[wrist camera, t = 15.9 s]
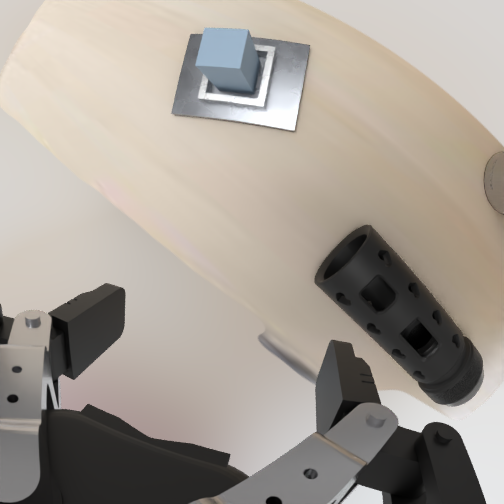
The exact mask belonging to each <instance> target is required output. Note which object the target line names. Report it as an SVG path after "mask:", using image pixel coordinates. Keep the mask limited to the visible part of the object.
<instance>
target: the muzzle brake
mask: <svg viewBox="0 0 504 504" xmlns="http://www.w3.org/2000/svg"><path fill="white" fill-rule="evenodd" d="M315 284H316V285H317V286H318V287H319V288H321V289H322V290H323V291H324V292H325V293H326V294H327V295H328V296H329V297H330V298H331V299H332V300H333V301H334V302H335V303H336V304H337V305H338V306H339V307H340V308H342V309H343V310H344V311H345V312H346V313H347V314H348V315H349V316H350V317H351V318H352V319H353V320H354V321H355V322H356V323H357V324H358V325H359V326H360V327H361V328H362V329H363V330H364V331H365V332H367V333H368V334H369V335H370V336H371V337H372V338H373V339H374V340H375V341H376V342H377V343H378V344H379V345H380V346H381V347H382V348H383V349H384V350H385V351H386V352H387V353H388V354H389V355H390V356H391V357H392V358H393V359H394V360H395V361H396V362H397V363H398V364H399V365H400V366H401V367H402V368H403V369H404V370H405V371H406V372H407V373H409V374H410V375H411V376H412V377H413V378H414V379H415V380H416V381H418V384H419V386H420V388H421V389H422V390H423V391H424V392H425V393H426V394H427V395H428V396H429V397H430V398H431V399H432V400H433V401H434V402H436V403H438V404H442V405H447V406H459V405H462V404H464V403H466V402H468V401H469V400H470V399H472V398H473V397H474V396H475V394H476V393H477V392H478V390H479V389H480V387H481V384H482V382H483V377H484V370H483V360H482V357H481V355H480V353H479V352H478V350H477V349H476V348H475V346H474V345H473V343H472V342H471V341H470V340H469V339H468V338H467V337H464V336H463V334H462V332H461V331H460V329H459V328H458V327H457V326H456V324H455V323H454V322H453V321H452V319H451V318H450V316H449V315H448V314H447V313H446V311H445V310H444V309H443V308H442V306H441V305H440V304H439V303H438V302H437V301H436V299H435V298H434V297H433V296H432V294H431V293H430V292H429V291H428V289H427V288H426V287H425V286H424V285H423V283H422V282H421V281H420V280H419V279H418V278H417V277H416V275H415V274H414V273H413V272H412V271H411V270H410V268H409V267H408V266H407V265H406V264H405V263H404V261H403V260H402V259H401V258H400V257H399V256H398V255H397V254H396V252H395V251H394V250H393V249H392V248H391V247H390V246H389V245H388V244H387V243H386V242H385V241H384V240H383V239H382V237H381V236H380V235H379V234H378V233H377V232H376V231H375V230H374V229H373V228H372V227H371V226H370V225H365V226H362V227H360V228H358V229H356V230H355V231H353V232H352V233H351V234H349V235H348V236H347V237H346V238H345V239H344V240H343V241H342V242H341V243H340V244H339V245H338V246H337V247H336V248H335V249H334V250H333V251H332V252H331V253H330V254H329V255H328V257H327V258H326V259H325V260H324V262H323V263H322V265H321V266H320V268H319V269H318V271H317V273H316V276H315Z"/></svg>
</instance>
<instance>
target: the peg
mask: <svg viewBox="0 0 504 504" xmlns="http://www.w3.org/2000/svg"><path fill="white" fill-rule="evenodd" d="M260 64H261V63H260V60H259V57H258V54H257V52H256V49H255V46H254V43H253V41H252V38H251V35H250V33H249V30H245V29H228V28H205V29H204V32H203V36H202V40H201V44H200V48H199V52H198V56H197V60H196V64H195V66H196V67H197V68H198V69H199V70H200V71H201V72H202V73H203V74H204V75H205V76H206V77H207V78H208V79H209V80H210V81H211V82H212V83H213V85H214V86H215V87H216V88H217V89H218V90H219V91H226V92H236V93H245V94H253V95H254V94H255V89H256V84H257V79H258V74H259V69H260Z"/></svg>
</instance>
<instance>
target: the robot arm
mask: <svg viewBox="0 0 504 504" xmlns="http://www.w3.org/2000/svg"><path fill="white" fill-rule="evenodd" d="M484 184H485V191H486V195H487V197H488V200H489V202H490V203H491V205H492V206H493V208H494V209H495V210H497V211H498V212H499V213H502V214H504V152H499V153H497V154H495V155H494V156H493V157H491V159H490V160H489V162H488V164H487V166H486V170H485V176H484ZM124 321H125V290H124V289H123V288H121V287H118V286H115V285H111V284H108V283H105V284H104V285H102V286H100V287H98V288H97V289H95V290H93V291H90V292H86V293H82V294H80V295H78V296H77V297H75V298H74V299H71V300H70V301H68V302H67V303H65V304H63V305H61V306H59V307H58V308H56V309H55V310H53V311H51V312H49V313H48V314H47V313H45V312H43V311H39V310H29V311H24V312H22V313H20V314H18V315H17V316H16V317H15V319H14V318H10V317H6V316H3V314H2V307H1V304H0V504H341V503H342V502H343V501H344V500H345V499H346V498H347V497H348V496H349V495H350V494H351V493H352V492H353V491H354V489H355V488H356V487H357V486H358V485H362V486H365V487H369V488H372V489H376V490H379V491H382V495H383V504H486V501H485V498H484V495H483V492H482V490H481V487H480V484H479V481H478V478H477V476H476V473H475V470H474V468H473V465H472V463H471V460H470V458H469V455H468V453H467V450H466V448H465V446H464V443H463V440H462V438H461V436H460V434H459V433H458V432H457V431H456V430H455V429H454V428H453V427H451V426H449V425H447V424H444V423H440V422H433V423H429V424H427V425H426V426H425V427H424V429H423V430H422V432H421V433H419V432H416V431H412V430H409V429H406V428H403V427H400V426H398V418H397V416H396V415H395V414H394V413H393V412H392V411H391V410H390V409H389V408H387V407H385V406H383V405H381V402H380V398H379V395H378V392H377V388H376V385H375V384H374V383H375V382H374V379H373V377H372V373H371V370H370V367H369V366H368V364H367V363H366V362H365V361H364V360H363V359H362V358H357V357H355V355H354V351H353V347H352V344H351V343H347V342H341V341H336V340H331V341H330V343H329V346H328V348H327V351H326V354H325V357H324V360H323V363H322V366H321V369H320V372H319V374H318V378H317V382H316V389H315V392H316V423H317V432H315V433H313V434H312V435H310V436H309V437H308V438H306V439H305V440H303V441H302V442H301V443H299V444H298V445H297V446H296V447H294V448H293V449H291V450H290V451H288V452H287V453H285V454H284V455H283V456H281V457H280V458H278V459H277V460H275V461H274V462H272V463H271V464H269V465H268V466H266V467H265V468H263V469H262V470H260V471H258V472H257V473H255V474H254V475H252V476H250V477H249V476H247V475H246V474H244V473H243V472H242V471H240V470H238V469H236V468H235V467H232V466H230V465H228V462H229V458H230V454H228V453H224V452H220V451H216V450H213V449H209V448H205V447H202V446H198V445H195V444H190V443H181V442H174V441H167V440H160V439H154V438H150V437H148V436H146V435H144V434H143V433H141V432H140V431H138V430H137V429H135V428H133V427H132V426H131V425H129V424H128V423H126V422H125V421H123V420H121V419H120V418H119V417H116V416H114V415H112V414H109V413H107V412H105V411H103V410H100V409H98V408H96V407H94V406H92V405H90V404H87V405H86V406H85V408H84V409H83V410H82V411H81V412H80V411H74V410H67V409H61V396H60V380H59V376H60V375H62V374H63V375H65V376H67V377H69V378H71V379H73V380H74V379H76V378H77V377H78V376H79V375H80V374H81V373H82V372H83V371H84V370H85V369H86V368H87V367H88V366H89V365H90V364H92V363H93V362H94V361H95V360H96V359H97V358H98V357H99V356H100V355H101V354H102V353H103V352H105V350H107V349H108V348H109V347H110V346H111V345H112V344H113V343H114V342H115V341H116V340H118V339H119V338H120V336H121V335H122V332H123V329H124V323H125V322H124Z"/></svg>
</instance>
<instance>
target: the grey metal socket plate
mask: <svg viewBox="0 0 504 504" xmlns="http://www.w3.org/2000/svg"><path fill="white" fill-rule="evenodd" d="M202 36H203V34H191V35H190V39H189V42H188V46H187V50H186V54H185V57H184V61H183V65H182V69H181V73H180V77H179V82H178V86H177V90H176V95H175V99H174V104H173V108H172V113H171V114H173V115H179V116H190V117H199V118H208V119H216V120H224V121H231V122H239V123H245V124H252V125H258V126H264V127H270V128H276V129H281V130H286V131H292V132H294V131H295V126H296V121H297V116H298V110H299V105H300V100H301V94H302V89H303V83H304V78H305V72H306V67H307V61H308V56H309V50H310V45H306V44H300V43H294V42H287V41H280V40H272V39H264V38H255V37H251V38H252V41H253V43H254V46H255V49H256V52H257V54H258V57H259V60H260V63H261V64H260V69H259V74H258V79H257V84H256V89H255V94H254V95H253V94H245V93H236V92H226V91H219V90H218V89H217V88H216V87H215V86H214V85H213V83H212V82H211V81H210V80H209V79H208V78H207V77H206V76H205V75H204V74H203V73H202V72H201V71H200V70H199V69H198V68H197V67H196V66H195V64H196V60H197V56H198V52H199V48H200V44H201V40H202Z"/></svg>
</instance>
